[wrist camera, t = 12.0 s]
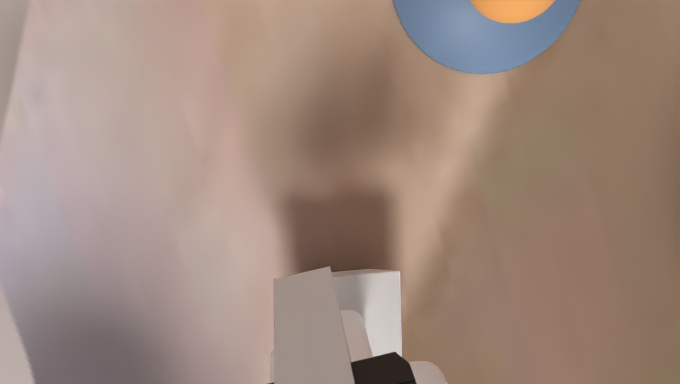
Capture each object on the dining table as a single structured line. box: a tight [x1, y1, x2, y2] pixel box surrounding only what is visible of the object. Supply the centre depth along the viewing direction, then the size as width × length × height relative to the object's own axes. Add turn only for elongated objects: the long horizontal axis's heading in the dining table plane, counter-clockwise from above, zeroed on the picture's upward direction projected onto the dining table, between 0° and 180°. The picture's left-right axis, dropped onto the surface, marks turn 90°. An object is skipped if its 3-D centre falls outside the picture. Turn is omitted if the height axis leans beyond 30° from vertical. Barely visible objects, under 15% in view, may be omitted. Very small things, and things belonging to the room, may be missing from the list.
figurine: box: [270, 269, 448, 384], centre depth 35 cm, size 7×9×15 cm
